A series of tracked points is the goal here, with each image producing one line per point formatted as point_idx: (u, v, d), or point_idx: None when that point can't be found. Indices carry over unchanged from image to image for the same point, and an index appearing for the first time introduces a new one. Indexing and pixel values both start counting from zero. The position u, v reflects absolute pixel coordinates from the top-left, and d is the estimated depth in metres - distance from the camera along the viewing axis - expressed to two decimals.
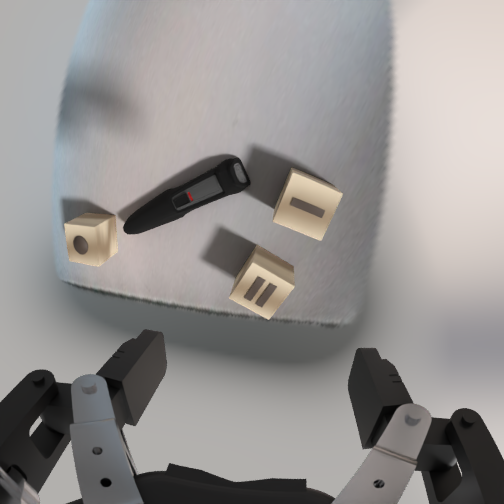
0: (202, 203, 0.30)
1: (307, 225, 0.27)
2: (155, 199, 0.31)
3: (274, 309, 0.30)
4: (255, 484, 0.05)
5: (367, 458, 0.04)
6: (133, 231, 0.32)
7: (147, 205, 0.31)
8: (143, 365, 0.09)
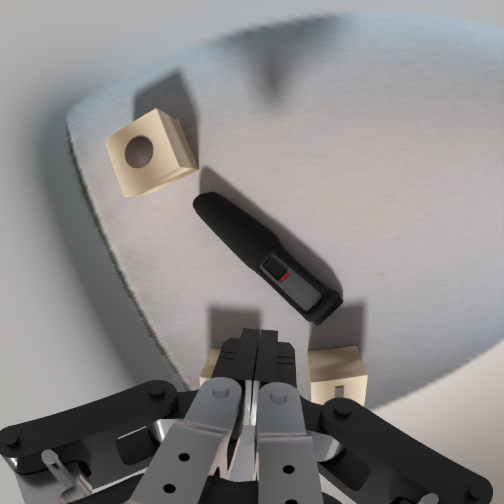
0: (281, 293, 0.24)
1: None
2: (257, 225, 0.23)
3: None
4: (255, 484, 0.05)
5: (260, 450, 0.05)
6: (200, 213, 0.22)
7: (244, 217, 0.23)
8: (255, 363, 0.10)
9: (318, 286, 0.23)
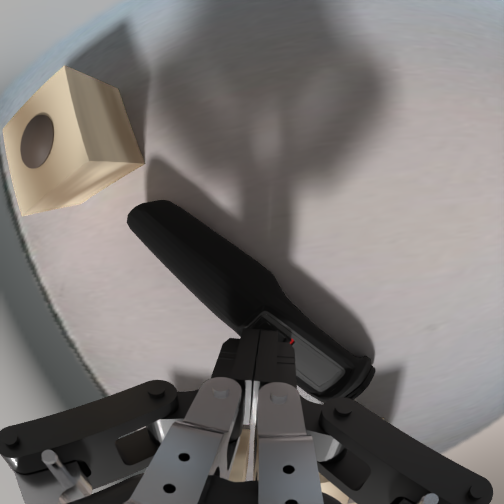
0: None
1: None
2: (239, 258, 0.13)
3: None
4: (255, 484, 0.05)
5: (260, 450, 0.05)
6: (140, 238, 0.12)
7: (216, 245, 0.13)
8: (255, 363, 0.10)
9: (341, 358, 0.13)
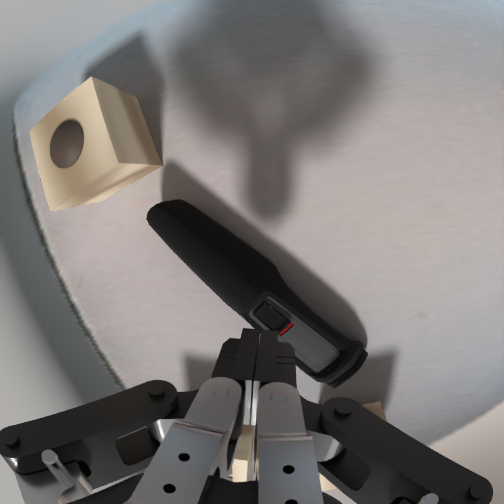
0: None
1: None
2: (245, 251, 0.15)
3: None
4: (255, 484, 0.05)
5: (260, 450, 0.05)
6: (158, 233, 0.14)
7: (225, 238, 0.15)
8: (255, 363, 0.10)
9: (335, 340, 0.15)
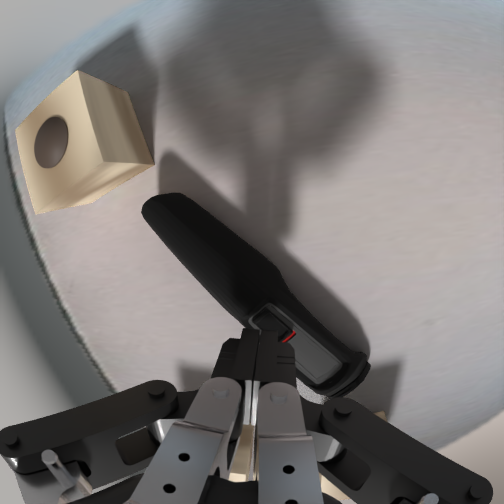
0: None
1: (333, 492, 0.14)
2: (247, 252, 0.14)
3: None
4: (255, 484, 0.05)
5: (260, 450, 0.05)
6: (153, 228, 0.13)
7: (226, 238, 0.14)
8: (255, 362, 0.10)
9: (339, 351, 0.14)
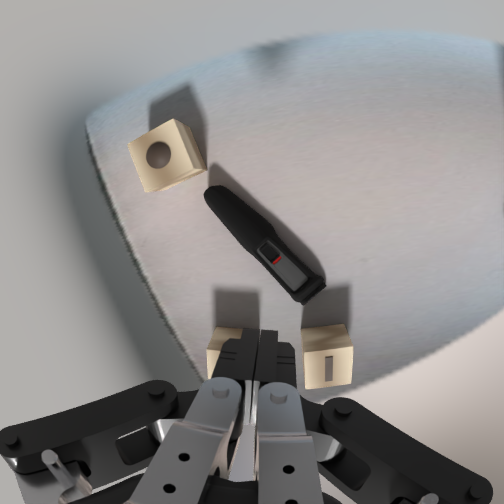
0: (273, 274, 0.28)
1: (313, 375, 0.27)
2: (256, 216, 0.28)
3: None
4: (255, 484, 0.05)
5: (260, 450, 0.05)
6: (210, 202, 0.27)
7: (246, 208, 0.27)
8: (255, 363, 0.10)
9: (305, 270, 0.28)
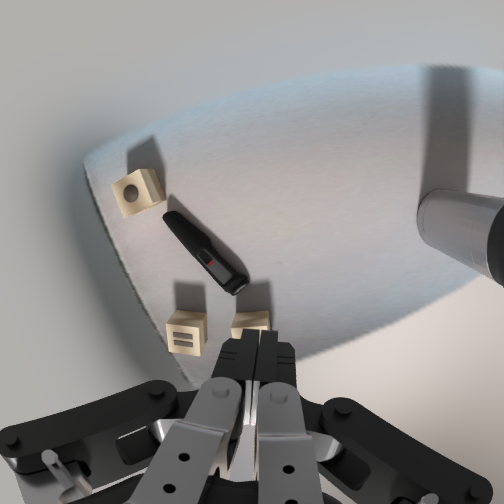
0: (209, 272, 0.40)
1: None
2: (197, 232, 0.40)
3: (177, 351, 0.41)
4: (255, 484, 0.05)
5: (260, 450, 0.05)
6: (166, 223, 0.39)
7: (190, 227, 0.40)
8: (255, 363, 0.10)
9: (230, 270, 0.40)
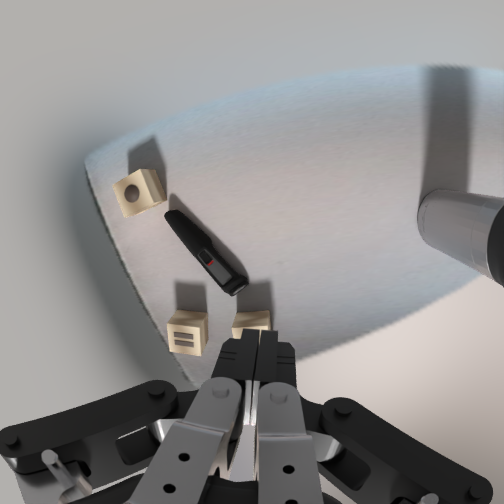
0: (208, 272, 0.40)
1: None
2: (199, 231, 0.40)
3: (178, 351, 0.41)
4: (255, 484, 0.05)
5: (260, 450, 0.05)
6: (168, 221, 0.39)
7: (192, 226, 0.40)
8: (255, 362, 0.10)
9: (230, 271, 0.40)
